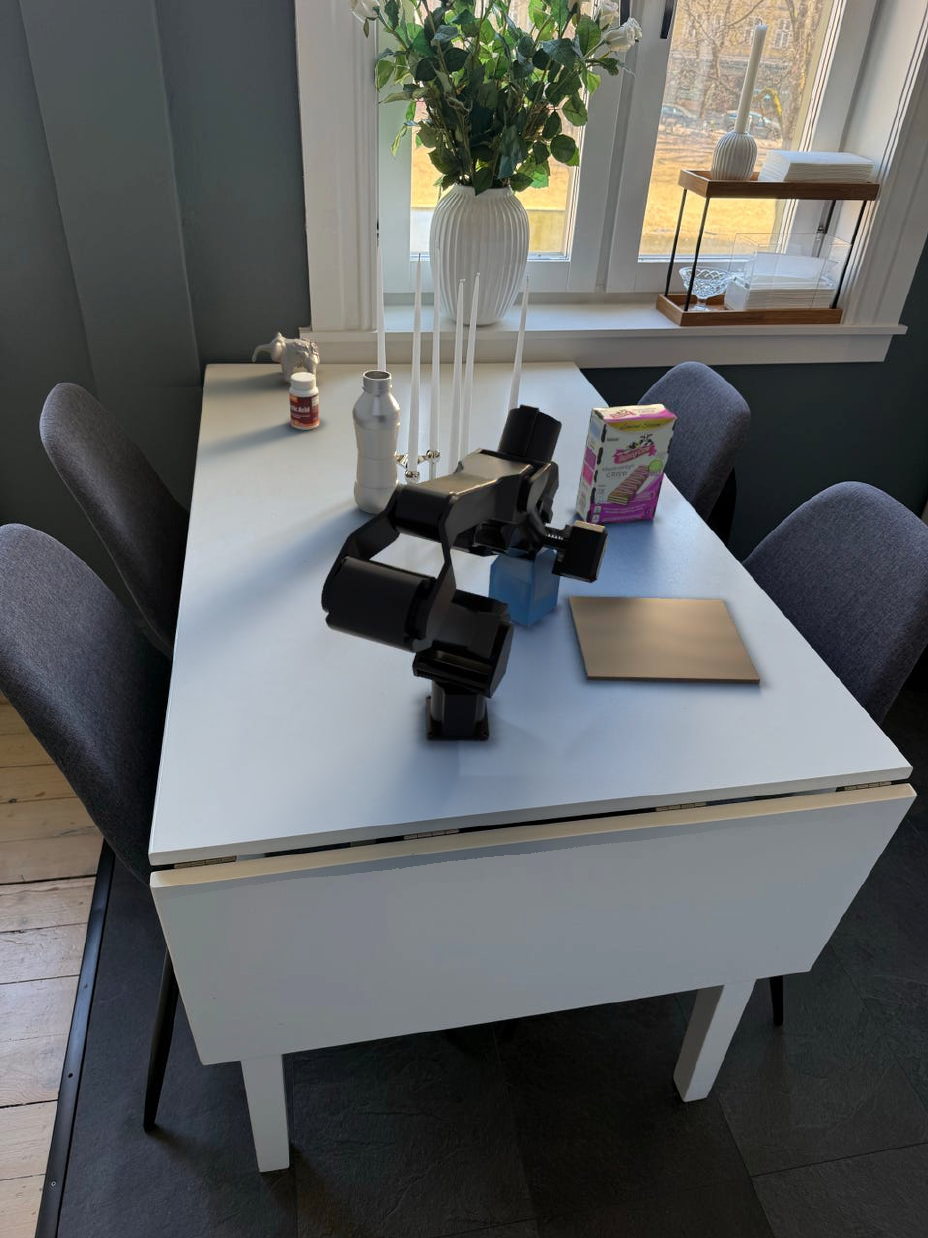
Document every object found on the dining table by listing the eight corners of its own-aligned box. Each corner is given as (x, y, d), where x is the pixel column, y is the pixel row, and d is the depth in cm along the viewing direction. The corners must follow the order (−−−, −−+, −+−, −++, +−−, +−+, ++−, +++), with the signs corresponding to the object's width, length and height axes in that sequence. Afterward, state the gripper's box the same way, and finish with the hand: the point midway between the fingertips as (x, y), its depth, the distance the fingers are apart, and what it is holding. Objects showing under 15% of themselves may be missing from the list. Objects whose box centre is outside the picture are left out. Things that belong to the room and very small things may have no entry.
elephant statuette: (327, 384, 169) (326, 343, 164) (263, 391, 164) (260, 349, 160) (312, 366, 175) (310, 326, 171) (250, 373, 171) (247, 332, 166)
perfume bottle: (517, 587, 118) (524, 504, 111) (556, 606, 115) (566, 522, 108) (487, 607, 114) (493, 523, 107) (527, 627, 111) (536, 541, 104)
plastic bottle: (393, 522, 129) (395, 387, 118) (347, 515, 130) (345, 380, 118) (405, 501, 134) (408, 369, 123) (360, 494, 135) (359, 363, 124)
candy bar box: (587, 528, 131) (604, 421, 122) (573, 511, 135) (589, 406, 125) (656, 520, 134) (678, 415, 125) (641, 504, 138) (661, 401, 129)
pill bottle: (286, 427, 153) (283, 379, 148) (298, 416, 156) (296, 369, 151) (312, 432, 152) (310, 383, 147) (324, 421, 155) (322, 373, 150)
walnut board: (759, 683, 105) (760, 679, 104) (586, 680, 103) (587, 676, 103) (721, 603, 118) (722, 599, 117) (567, 599, 116) (568, 595, 116)
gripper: (618, 465, 95) (625, 511, 110) (452, 430, 100) (480, 478, 115) (589, 566, 94) (600, 598, 109) (421, 525, 98) (454, 561, 113)
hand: (532, 556), depth 111 cm, fingers closed on perfume bottle, 7 cm apart
